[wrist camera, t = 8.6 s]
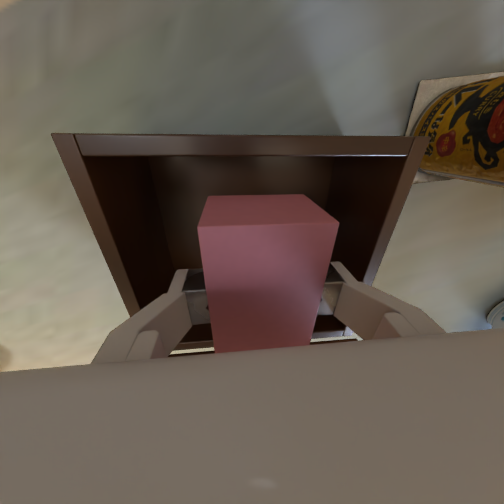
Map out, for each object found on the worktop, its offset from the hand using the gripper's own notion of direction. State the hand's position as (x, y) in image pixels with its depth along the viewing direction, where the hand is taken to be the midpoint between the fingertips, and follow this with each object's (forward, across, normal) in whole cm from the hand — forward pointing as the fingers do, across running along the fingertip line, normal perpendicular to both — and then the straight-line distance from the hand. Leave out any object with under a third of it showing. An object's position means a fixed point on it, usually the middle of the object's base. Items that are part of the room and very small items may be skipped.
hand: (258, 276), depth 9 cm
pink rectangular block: (+2, 0, 0) cm, 2 cm away
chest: (+10, 0, +1) cm, 10 cm away
